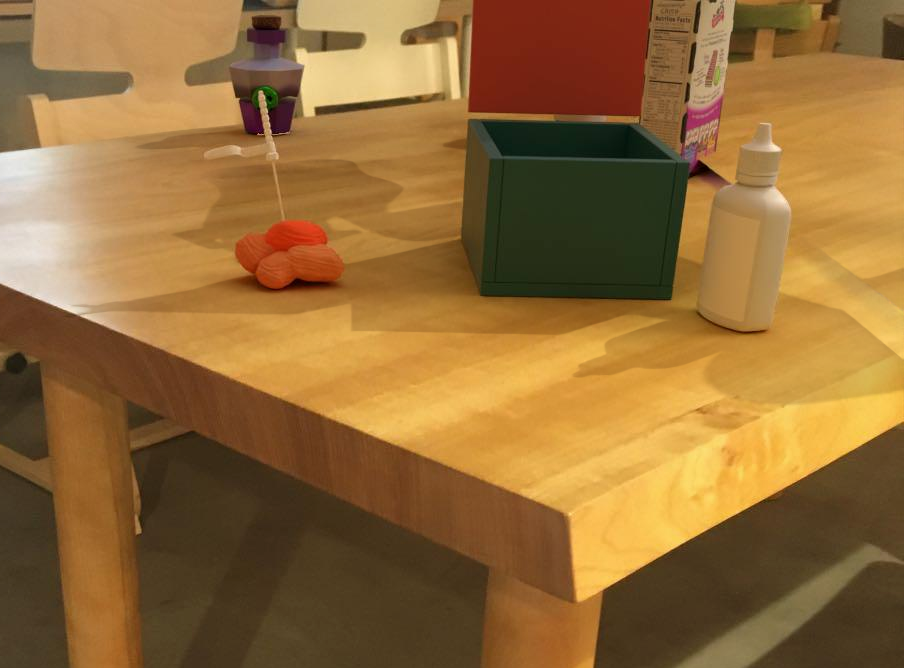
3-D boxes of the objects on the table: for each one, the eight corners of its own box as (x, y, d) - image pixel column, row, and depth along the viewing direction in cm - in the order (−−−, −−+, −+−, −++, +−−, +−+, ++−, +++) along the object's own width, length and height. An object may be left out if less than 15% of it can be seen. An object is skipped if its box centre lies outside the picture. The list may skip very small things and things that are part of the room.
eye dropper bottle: (700, 331, 77) (732, 129, 71) (694, 305, 82) (722, 114, 76) (773, 336, 76) (810, 133, 71) (762, 310, 81) (796, 118, 76)
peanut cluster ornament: (227, 262, 89) (222, 84, 83) (356, 274, 87) (359, 92, 81) (195, 284, 83) (188, 95, 78) (331, 297, 81) (333, 105, 76)
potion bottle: (241, 140, 133) (238, 18, 128) (219, 127, 140) (216, 11, 135) (317, 136, 136) (318, 18, 131) (292, 124, 143) (292, 11, 138)
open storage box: (671, 299, 83) (691, 162, 79) (480, 295, 83) (489, 157, 79) (624, 241, 97) (638, 122, 93) (460, 238, 97) (467, 118, 93)
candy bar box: (667, 160, 129) (690, -13, 121) (714, 166, 126) (741, -10, 119) (628, 177, 120) (650, -8, 112) (678, 184, 118) (704, -5, 110)
